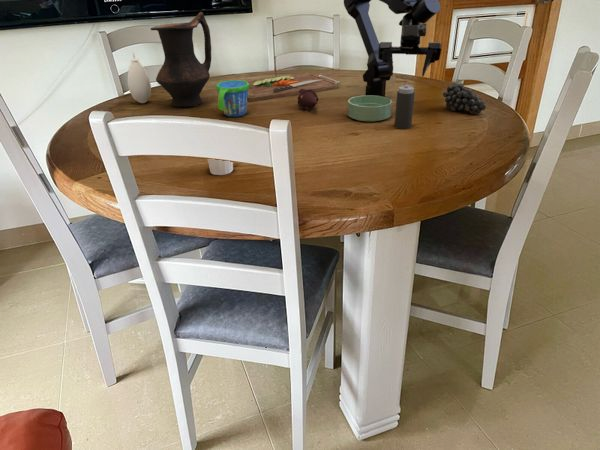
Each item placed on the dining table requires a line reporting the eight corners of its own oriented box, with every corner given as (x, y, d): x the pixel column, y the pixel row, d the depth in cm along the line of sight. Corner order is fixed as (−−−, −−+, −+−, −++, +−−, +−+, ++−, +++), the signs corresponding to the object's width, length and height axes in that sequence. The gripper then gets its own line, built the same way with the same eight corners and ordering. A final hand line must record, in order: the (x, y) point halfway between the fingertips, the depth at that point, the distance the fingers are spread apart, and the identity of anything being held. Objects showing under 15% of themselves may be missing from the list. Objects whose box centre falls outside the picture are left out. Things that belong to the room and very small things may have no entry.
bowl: (374, 107, 158) (375, 93, 156) (399, 118, 148) (400, 102, 145) (339, 113, 153) (339, 98, 151) (362, 125, 142) (363, 109, 140)
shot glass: (208, 165, 117) (205, 139, 113) (236, 164, 117) (233, 138, 114) (206, 176, 111) (202, 149, 107) (234, 175, 111) (232, 147, 108)
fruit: (493, 86, 144) (453, 77, 154) (477, 99, 141) (437, 89, 151) (493, 110, 150) (454, 100, 160) (477, 123, 147) (439, 112, 157)
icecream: (328, 93, 151) (311, 88, 164) (308, 90, 148) (291, 84, 161) (324, 115, 154) (307, 107, 166) (304, 112, 151) (288, 104, 163)
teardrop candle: (133, 106, 167) (122, 54, 158) (130, 101, 173) (120, 50, 164) (155, 103, 169) (146, 52, 160) (152, 98, 176) (142, 48, 167)
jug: (170, 114, 157) (154, 18, 142) (154, 102, 170) (138, 14, 155) (227, 104, 166) (218, 13, 151) (207, 94, 180) (197, 9, 165)
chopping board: (314, 74, 206) (314, 67, 204) (346, 86, 185) (346, 79, 183) (218, 88, 188) (217, 80, 187) (241, 103, 168) (240, 94, 166)
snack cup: (233, 122, 147) (230, 90, 142) (208, 118, 152) (204, 87, 147) (261, 110, 159) (259, 80, 154) (236, 106, 164) (234, 77, 159)
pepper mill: (402, 122, 144) (406, 81, 137) (414, 126, 140) (419, 84, 134) (391, 125, 141) (394, 84, 135) (402, 130, 138) (406, 87, 131)
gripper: (380, 13, 138) (376, 58, 134) (445, 13, 135) (442, 59, 131) (380, 37, 149) (376, 80, 145) (440, 37, 145) (437, 81, 141)
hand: (407, 75), depth 140 cm, fingers open, 9 cm apart
